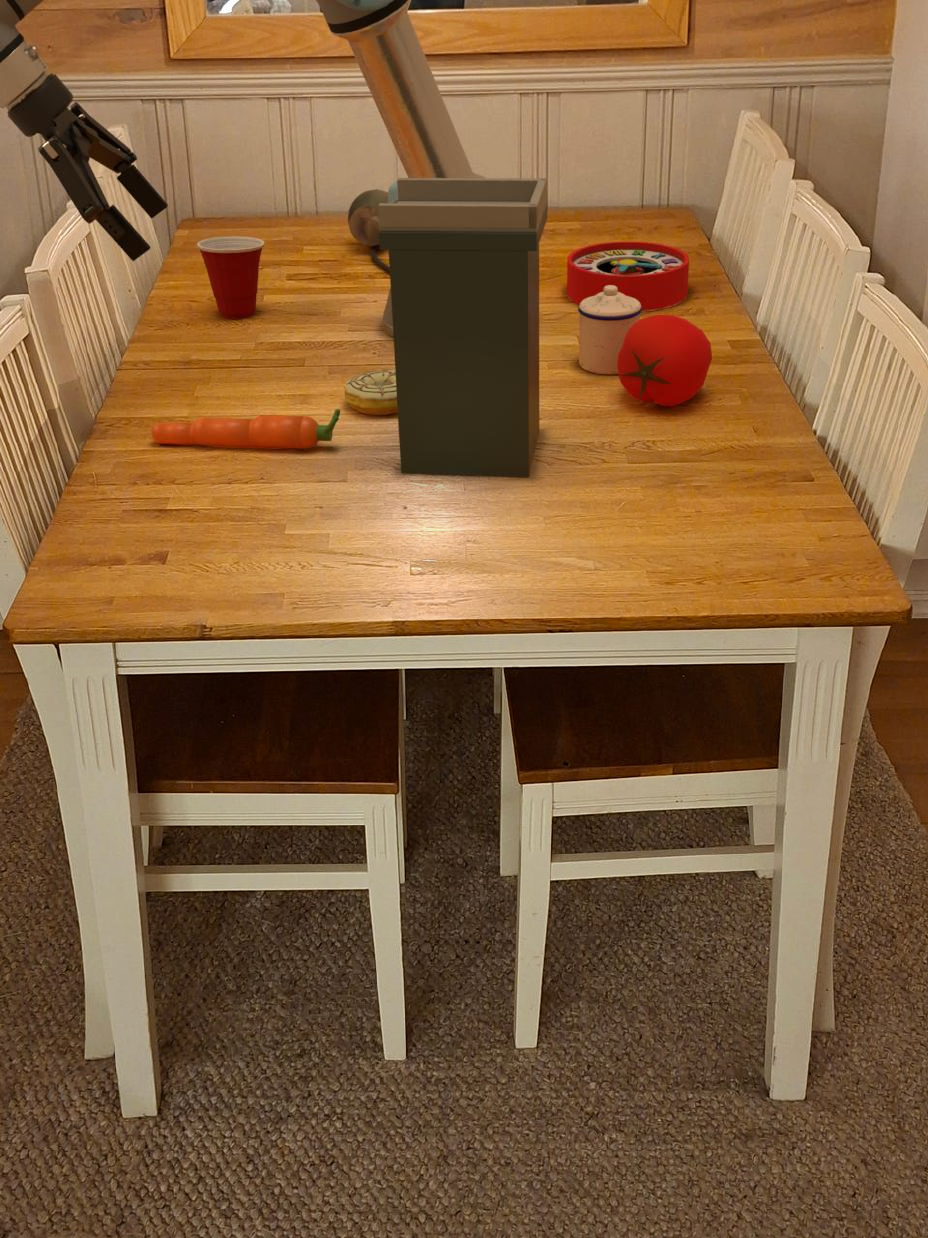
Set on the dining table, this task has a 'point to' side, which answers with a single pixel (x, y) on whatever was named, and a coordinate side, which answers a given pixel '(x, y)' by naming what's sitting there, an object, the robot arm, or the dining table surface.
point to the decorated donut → (373, 392)
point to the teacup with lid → (605, 328)
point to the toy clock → (630, 272)
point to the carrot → (247, 432)
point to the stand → (466, 322)
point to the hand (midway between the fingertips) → (151, 232)
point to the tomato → (664, 360)
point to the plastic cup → (233, 273)
